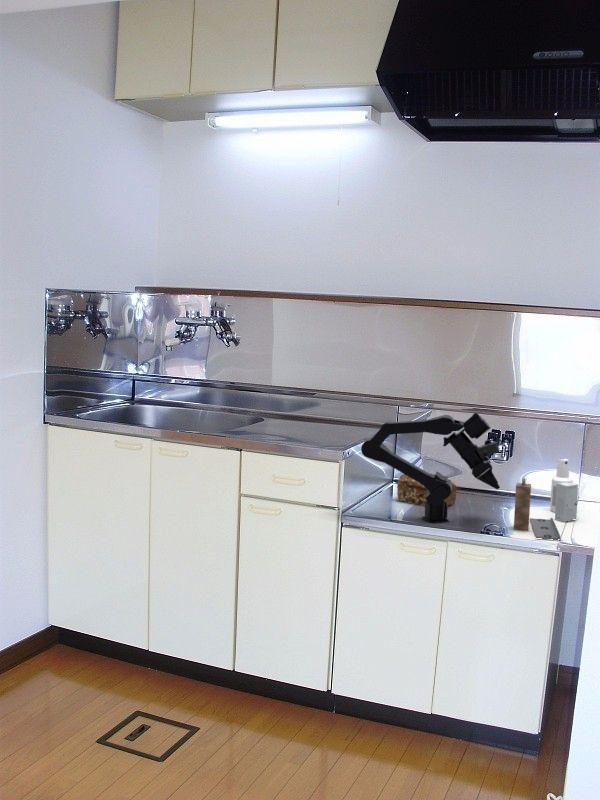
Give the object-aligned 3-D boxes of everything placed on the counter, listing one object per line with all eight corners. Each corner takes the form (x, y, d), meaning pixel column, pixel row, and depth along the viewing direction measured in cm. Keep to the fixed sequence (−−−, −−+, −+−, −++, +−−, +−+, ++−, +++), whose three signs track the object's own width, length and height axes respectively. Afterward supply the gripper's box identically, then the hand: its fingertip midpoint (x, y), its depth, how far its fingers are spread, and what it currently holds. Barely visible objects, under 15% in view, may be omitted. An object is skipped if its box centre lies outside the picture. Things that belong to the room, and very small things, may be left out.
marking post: (513, 529, 259) (516, 479, 257) (514, 526, 263) (516, 476, 261) (528, 531, 258) (531, 480, 256) (528, 527, 262) (531, 477, 260)
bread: (395, 501, 293) (396, 474, 292) (409, 496, 302) (410, 469, 301) (444, 510, 283) (446, 481, 281) (457, 504, 291) (458, 476, 290)
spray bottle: (557, 514, 280) (560, 461, 278) (546, 509, 286) (549, 457, 284) (575, 513, 282) (578, 461, 279) (563, 508, 288) (566, 457, 286)
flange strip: (560, 540, 248) (560, 536, 247) (535, 539, 249) (536, 534, 249) (552, 522, 269) (552, 517, 269) (529, 520, 270) (530, 516, 270)
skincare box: (564, 522, 269) (567, 486, 267) (553, 519, 273) (555, 483, 271) (577, 520, 272) (579, 484, 271) (566, 517, 276) (568, 481, 275)
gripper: (486, 435, 253) (520, 474, 252) (484, 429, 271) (515, 466, 270) (458, 458, 255) (491, 497, 254) (457, 450, 273) (488, 487, 272)
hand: (497, 486), depth 262 cm, fingers open, 9 cm apart
